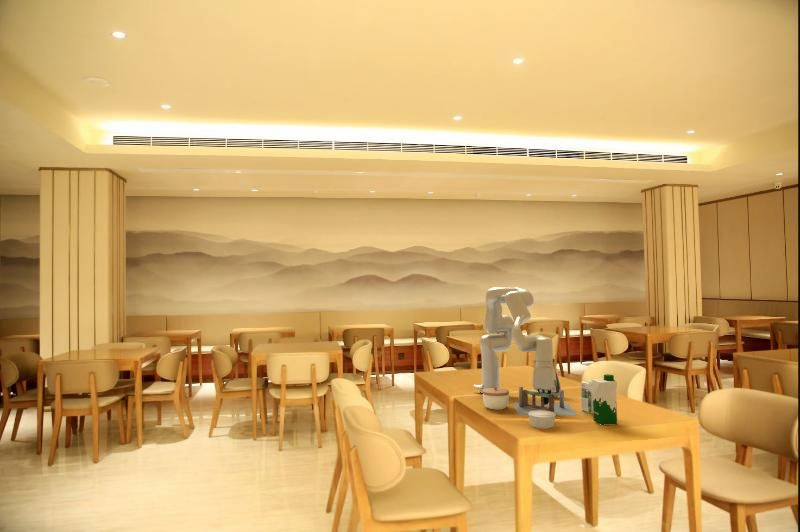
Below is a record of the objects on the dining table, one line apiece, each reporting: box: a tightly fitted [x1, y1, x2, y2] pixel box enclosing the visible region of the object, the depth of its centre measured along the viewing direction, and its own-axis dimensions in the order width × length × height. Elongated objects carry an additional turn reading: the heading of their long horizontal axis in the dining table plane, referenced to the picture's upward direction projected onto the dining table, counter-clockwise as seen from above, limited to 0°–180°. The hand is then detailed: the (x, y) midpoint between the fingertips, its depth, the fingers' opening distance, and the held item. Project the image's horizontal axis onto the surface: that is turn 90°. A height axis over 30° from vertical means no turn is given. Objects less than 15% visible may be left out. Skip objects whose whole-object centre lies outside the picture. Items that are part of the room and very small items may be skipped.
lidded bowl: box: [482, 386, 510, 411], centre depth 249 cm, size 13×13×11 cm
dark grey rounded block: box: [551, 371, 562, 399], centre depth 272 cm, size 10×10×15 cm
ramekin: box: [527, 410, 557, 430], centre depth 220 cm, size 11×11×5 cm
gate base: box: [513, 386, 579, 417], centre depth 245 cm, size 26×24×10 cm
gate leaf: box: [523, 389, 555, 412], centre depth 242 cm, size 16×2×8 cm, turn 42°
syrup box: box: [580, 380, 593, 414], centre depth 238 cm, size 6×6×14 cm
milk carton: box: [591, 374, 618, 426], centre depth 224 cm, size 9×9×20 cm
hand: (545, 403), depth 242 cm, fingers closed
